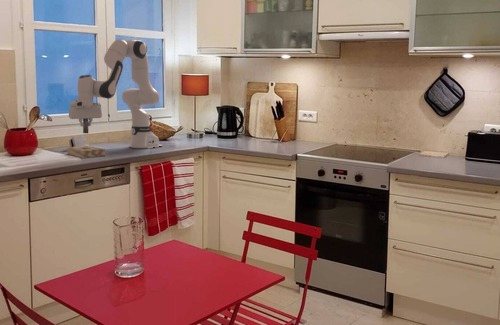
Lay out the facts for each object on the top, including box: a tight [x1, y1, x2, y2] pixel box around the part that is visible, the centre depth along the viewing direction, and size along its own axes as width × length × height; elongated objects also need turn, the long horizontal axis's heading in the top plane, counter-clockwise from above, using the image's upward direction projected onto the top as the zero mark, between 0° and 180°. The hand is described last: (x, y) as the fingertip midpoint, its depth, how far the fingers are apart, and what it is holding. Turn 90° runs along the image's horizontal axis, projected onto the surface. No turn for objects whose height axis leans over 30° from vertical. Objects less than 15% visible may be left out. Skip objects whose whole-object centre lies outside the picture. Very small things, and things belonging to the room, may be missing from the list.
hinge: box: [68, 134, 91, 147], centre depth 354 cm, size 17×5×10 cm, turn 168°
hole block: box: [66, 145, 106, 159], centre depth 332 cm, size 14×18×4 cm
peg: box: [82, 118, 89, 134], centre depth 330 cm, size 3×3×9 cm
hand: (85, 126), depth 330 cm, fingers closed on peg, 3 cm apart
